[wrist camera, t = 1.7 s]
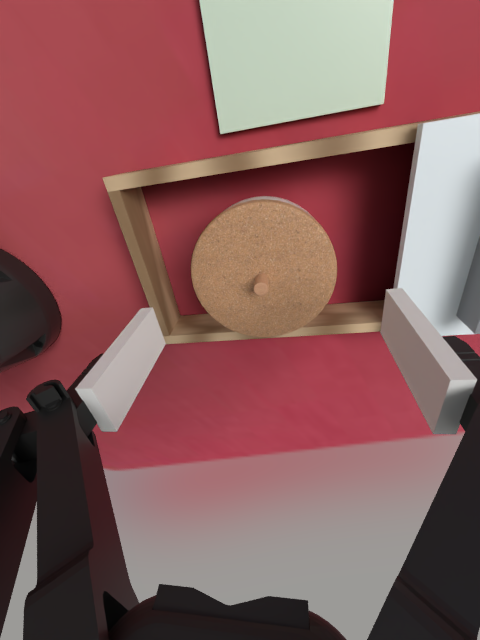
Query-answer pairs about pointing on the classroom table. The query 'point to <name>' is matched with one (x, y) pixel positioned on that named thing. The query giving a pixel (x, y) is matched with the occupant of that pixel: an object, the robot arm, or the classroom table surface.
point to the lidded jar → (264, 267)
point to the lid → (444, 226)
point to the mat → (295, 58)
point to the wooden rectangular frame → (129, 184)
